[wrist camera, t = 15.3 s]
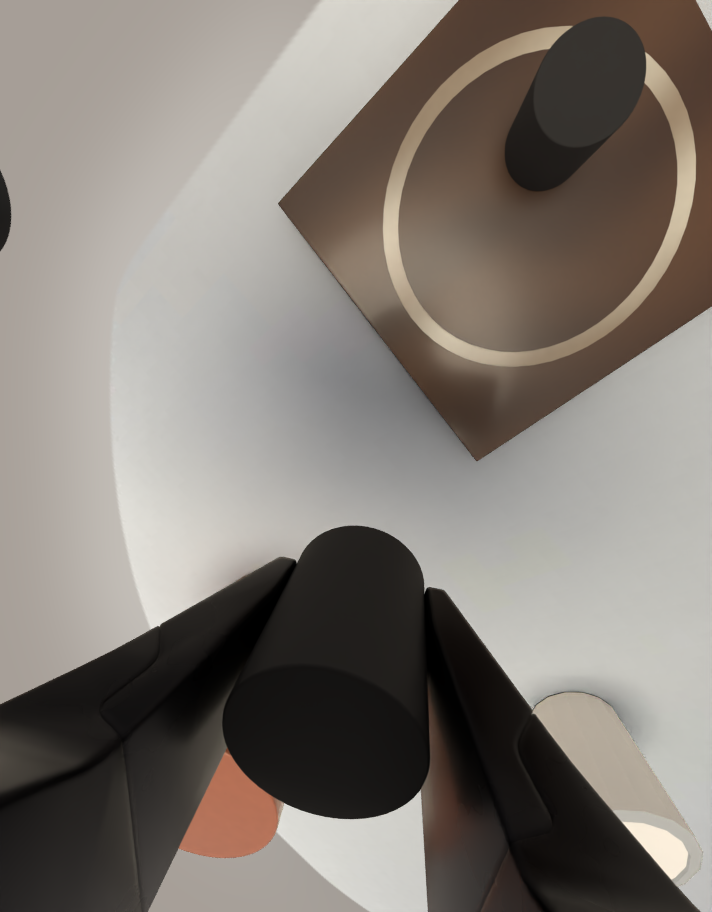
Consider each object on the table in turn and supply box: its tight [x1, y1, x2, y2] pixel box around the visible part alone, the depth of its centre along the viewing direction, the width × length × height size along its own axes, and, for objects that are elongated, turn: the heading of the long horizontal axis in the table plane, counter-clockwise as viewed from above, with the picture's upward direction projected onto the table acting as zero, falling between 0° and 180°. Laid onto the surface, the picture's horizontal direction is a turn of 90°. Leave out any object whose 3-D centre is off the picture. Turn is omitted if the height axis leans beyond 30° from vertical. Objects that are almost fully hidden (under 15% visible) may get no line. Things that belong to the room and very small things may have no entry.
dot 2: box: [505, 16, 646, 191], centre depth 13 cm, size 3×3×4 cm
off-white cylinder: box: [532, 692, 703, 887], centre depth 22 cm, size 7×7×7 cm
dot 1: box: [222, 526, 430, 819], centre depth 7 cm, size 3×3×4 cm
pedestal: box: [179, 576, 284, 858], centre depth 21 cm, size 8×8×11 cm
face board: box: [278, 0, 712, 461], centre depth 17 cm, size 16×16×1 cm
